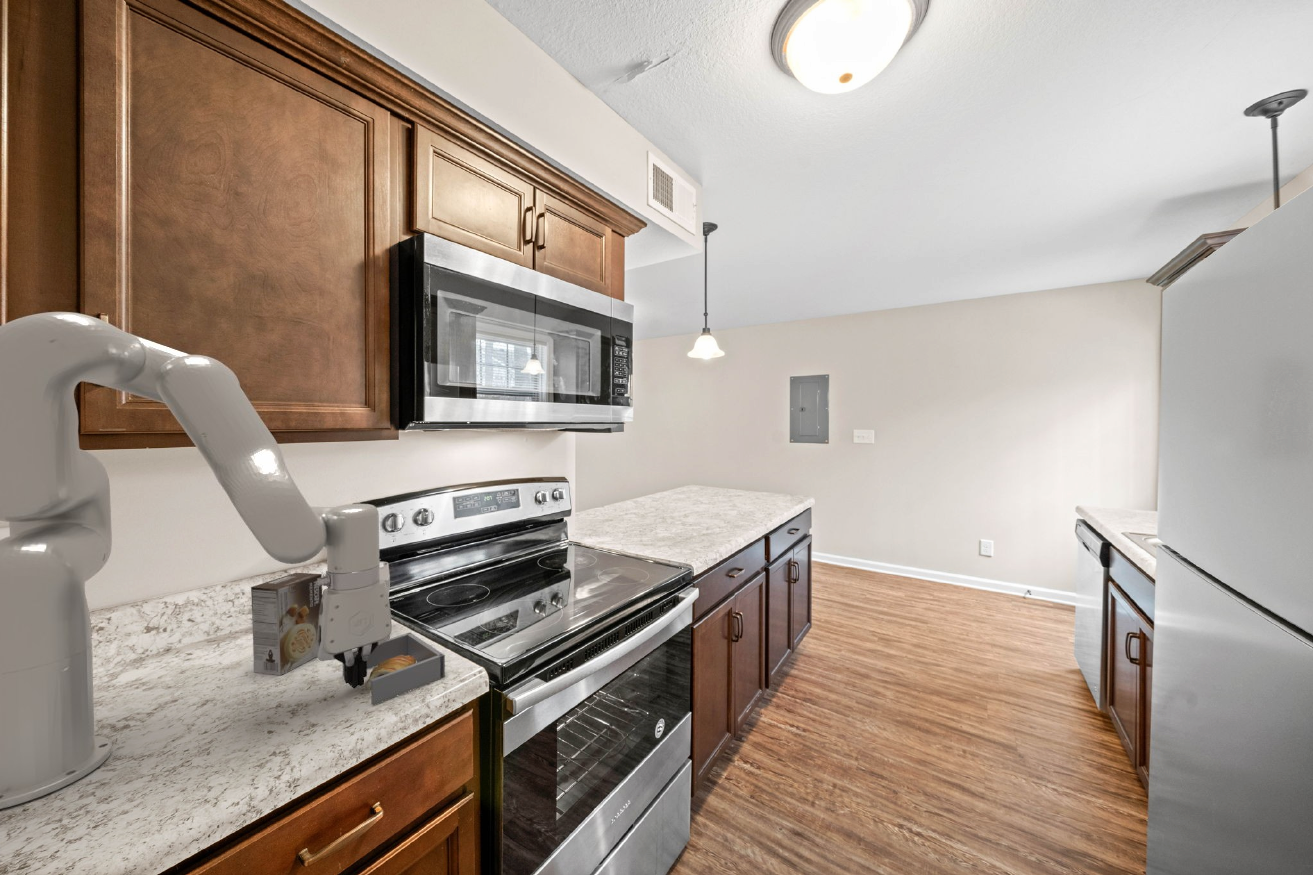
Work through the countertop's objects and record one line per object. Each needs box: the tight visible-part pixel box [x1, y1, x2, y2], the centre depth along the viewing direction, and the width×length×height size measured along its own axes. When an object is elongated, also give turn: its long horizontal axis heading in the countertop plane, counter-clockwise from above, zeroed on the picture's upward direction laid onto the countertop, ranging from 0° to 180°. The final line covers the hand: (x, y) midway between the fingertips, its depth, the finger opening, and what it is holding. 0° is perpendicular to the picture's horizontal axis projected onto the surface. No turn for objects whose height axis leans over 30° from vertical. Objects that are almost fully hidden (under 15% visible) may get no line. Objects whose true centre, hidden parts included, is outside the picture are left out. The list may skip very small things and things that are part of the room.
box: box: [342, 632, 446, 706], centre depth 87 cm, size 12×15×4 cm
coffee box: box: [250, 572, 323, 676], centre depth 92 cm, size 9×6×16 cm
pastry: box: [365, 655, 417, 691], centre depth 87 cm, size 9×7×4 cm
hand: (355, 683), depth 82 cm, fingers closed
